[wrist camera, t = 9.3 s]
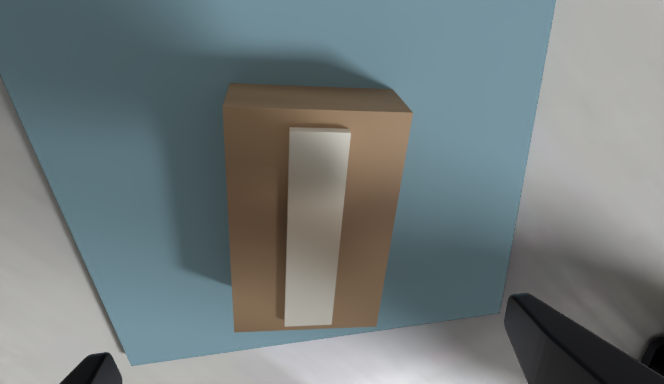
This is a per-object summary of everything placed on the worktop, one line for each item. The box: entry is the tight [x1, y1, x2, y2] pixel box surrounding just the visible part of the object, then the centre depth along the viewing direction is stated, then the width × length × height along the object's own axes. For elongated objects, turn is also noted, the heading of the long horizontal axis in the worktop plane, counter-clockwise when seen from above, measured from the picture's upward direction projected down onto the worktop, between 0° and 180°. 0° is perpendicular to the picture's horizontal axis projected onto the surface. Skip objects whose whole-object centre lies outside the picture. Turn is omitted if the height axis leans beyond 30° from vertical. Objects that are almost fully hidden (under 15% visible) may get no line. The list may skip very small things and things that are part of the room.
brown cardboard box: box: [223, 83, 413, 333], centre depth 14 cm, size 8×5×2 cm, turn 176°
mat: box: [0, 0, 556, 366], centre depth 15 cm, size 16×14×1 cm
